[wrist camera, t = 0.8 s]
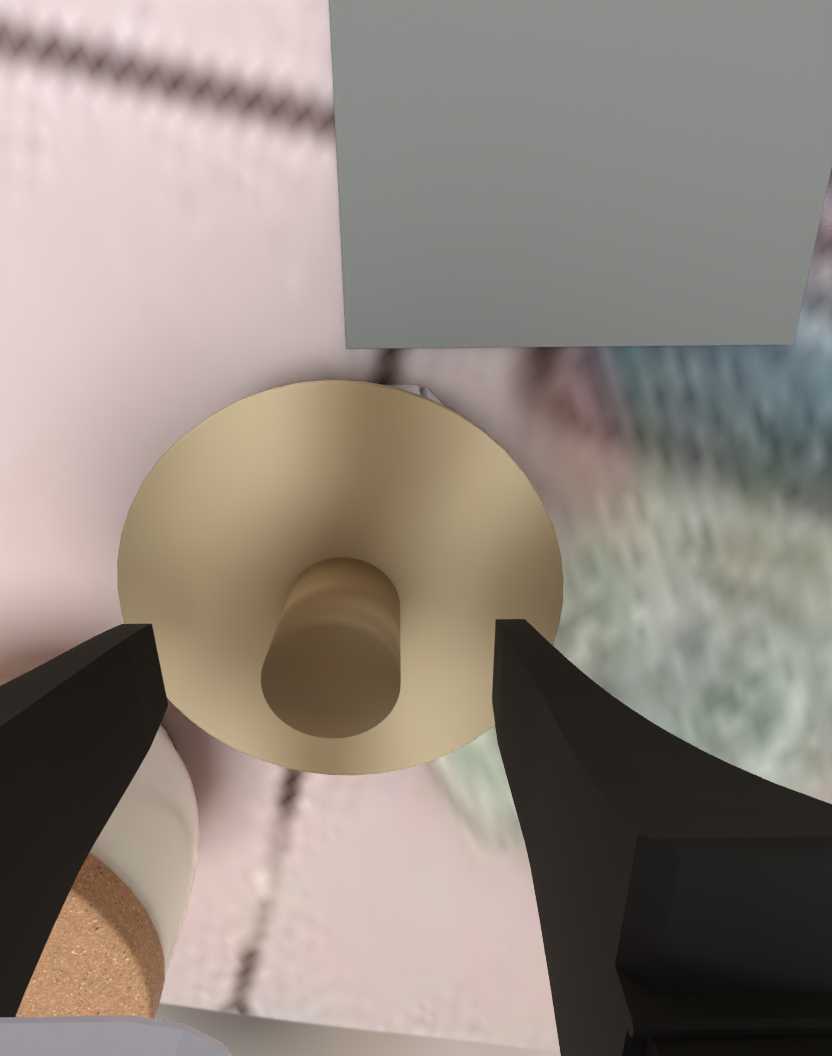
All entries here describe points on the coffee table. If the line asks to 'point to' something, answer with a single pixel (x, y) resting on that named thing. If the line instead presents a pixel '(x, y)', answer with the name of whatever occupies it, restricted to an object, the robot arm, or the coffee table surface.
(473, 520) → the lid
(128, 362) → the coffee table surface
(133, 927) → the lidded jar
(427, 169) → the mat
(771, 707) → the coffee table surface
